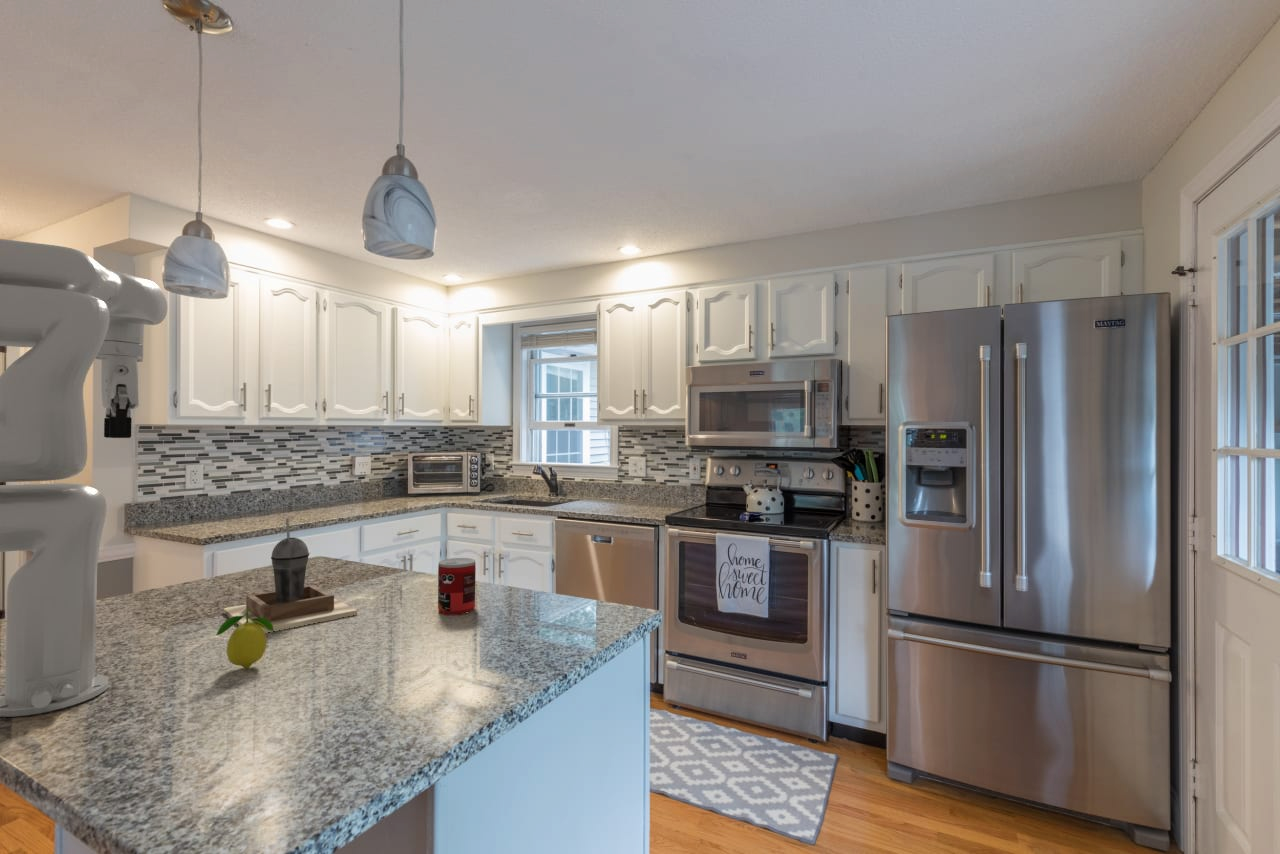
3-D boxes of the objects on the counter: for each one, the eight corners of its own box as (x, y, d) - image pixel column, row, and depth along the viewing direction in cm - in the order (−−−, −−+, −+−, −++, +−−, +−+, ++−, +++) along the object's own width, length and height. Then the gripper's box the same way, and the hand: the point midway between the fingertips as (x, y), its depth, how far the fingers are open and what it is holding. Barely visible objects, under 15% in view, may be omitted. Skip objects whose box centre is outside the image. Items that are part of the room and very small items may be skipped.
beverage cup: (315, 605, 135) (317, 515, 135) (293, 614, 127) (295, 520, 128) (285, 604, 135) (286, 515, 136) (261, 613, 128) (263, 519, 128)
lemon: (215, 677, 97) (216, 615, 97) (229, 664, 103) (230, 605, 103) (262, 673, 99) (263, 612, 99) (273, 660, 104) (274, 602, 104)
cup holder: (357, 614, 131) (357, 596, 131) (250, 636, 117) (251, 615, 117) (321, 595, 146) (321, 579, 146) (223, 612, 132) (223, 594, 132)
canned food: (435, 607, 137) (436, 559, 137) (472, 604, 140) (472, 556, 140) (440, 617, 130) (440, 566, 130) (477, 612, 133) (478, 562, 133)
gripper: (149, 350, 118) (147, 438, 118) (136, 358, 130) (135, 437, 130) (98, 346, 112) (96, 438, 112) (89, 354, 124) (88, 437, 124)
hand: (117, 437), depth 121 cm, fingers open, 9 cm apart
